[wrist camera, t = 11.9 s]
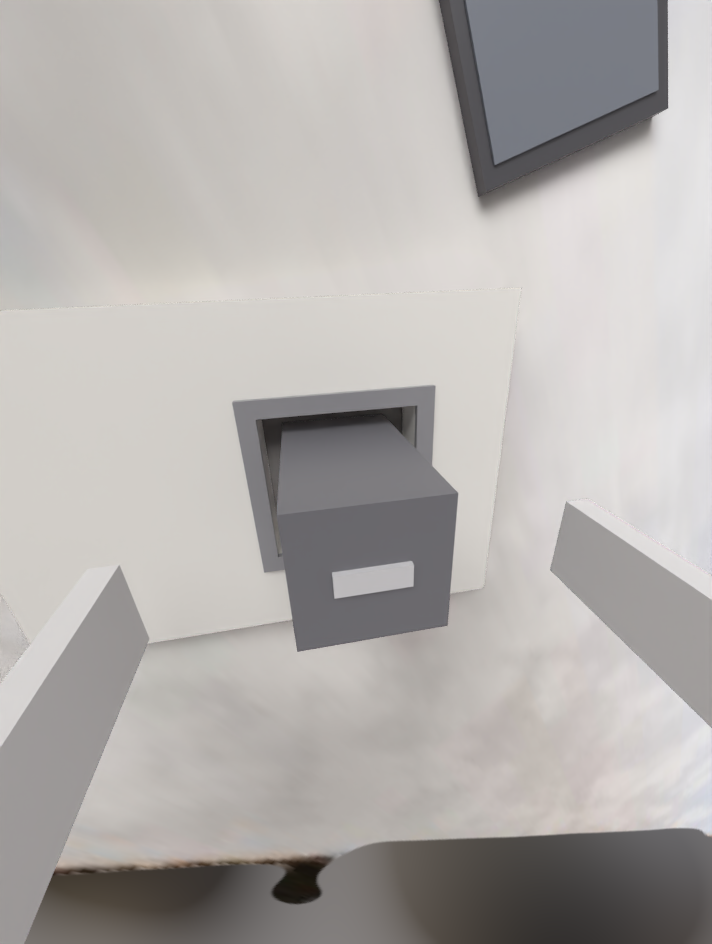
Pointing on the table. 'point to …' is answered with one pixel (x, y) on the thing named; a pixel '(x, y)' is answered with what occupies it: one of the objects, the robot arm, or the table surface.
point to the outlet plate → (225, 438)
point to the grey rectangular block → (362, 531)
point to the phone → (552, 77)
